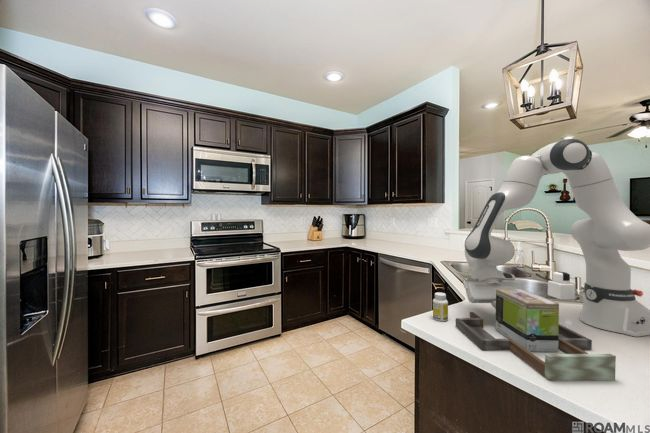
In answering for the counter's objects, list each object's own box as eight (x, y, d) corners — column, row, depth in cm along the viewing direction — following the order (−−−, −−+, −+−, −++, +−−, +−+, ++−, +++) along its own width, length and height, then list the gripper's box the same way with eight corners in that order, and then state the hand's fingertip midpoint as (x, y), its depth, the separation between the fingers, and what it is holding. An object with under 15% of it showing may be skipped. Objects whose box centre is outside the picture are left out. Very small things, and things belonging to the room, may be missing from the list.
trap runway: (533, 319, 101) (533, 303, 101) (648, 380, 65) (649, 356, 65) (448, 319, 102) (448, 304, 101) (515, 380, 65) (515, 356, 65)
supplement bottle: (446, 316, 105) (446, 292, 104) (449, 322, 99) (449, 296, 99) (432, 315, 106) (432, 291, 106) (433, 320, 101) (433, 295, 101)
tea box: (560, 352, 78) (560, 303, 78) (525, 352, 78) (526, 303, 78) (523, 329, 93) (523, 287, 93) (494, 329, 93) (494, 288, 93)
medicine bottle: (561, 294, 130) (561, 270, 130) (575, 299, 123) (575, 274, 123) (547, 295, 130) (547, 270, 129) (560, 299, 123) (561, 274, 122)
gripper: (464, 274, 101) (478, 310, 91) (518, 274, 101) (538, 309, 91) (458, 283, 106) (471, 317, 96) (510, 283, 105) (528, 317, 96)
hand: (504, 313), depth 94 cm, fingers closed, pressing on tea box
